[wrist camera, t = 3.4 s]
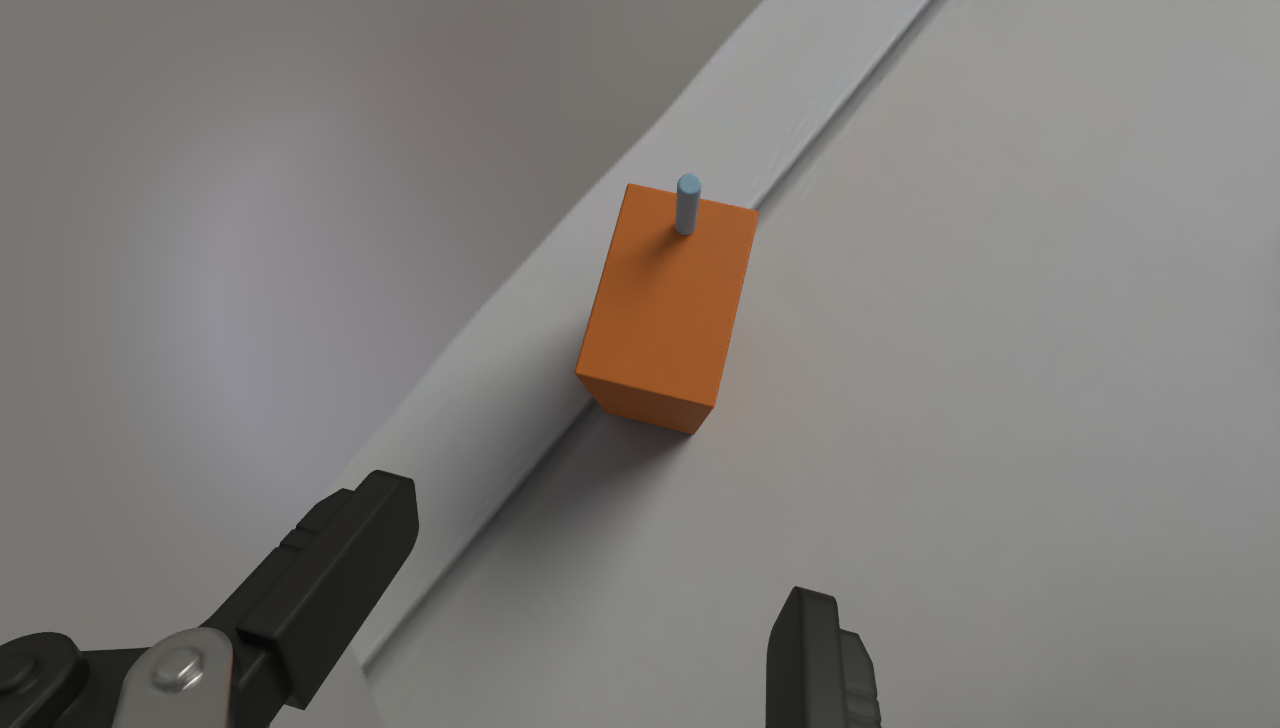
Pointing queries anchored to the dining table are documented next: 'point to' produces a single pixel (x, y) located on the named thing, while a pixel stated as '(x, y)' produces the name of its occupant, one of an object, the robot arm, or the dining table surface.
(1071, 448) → the dining table surface
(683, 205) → the juice box
